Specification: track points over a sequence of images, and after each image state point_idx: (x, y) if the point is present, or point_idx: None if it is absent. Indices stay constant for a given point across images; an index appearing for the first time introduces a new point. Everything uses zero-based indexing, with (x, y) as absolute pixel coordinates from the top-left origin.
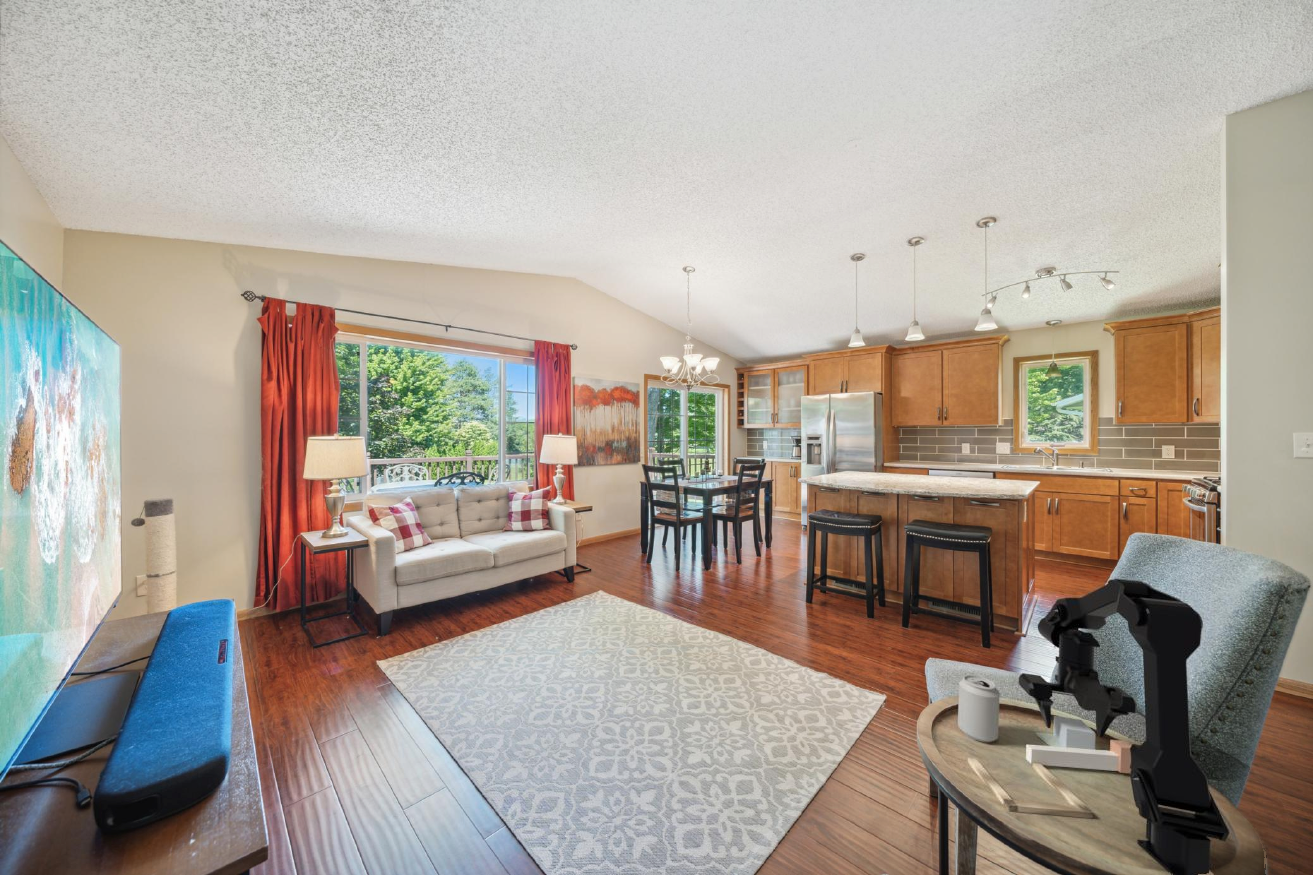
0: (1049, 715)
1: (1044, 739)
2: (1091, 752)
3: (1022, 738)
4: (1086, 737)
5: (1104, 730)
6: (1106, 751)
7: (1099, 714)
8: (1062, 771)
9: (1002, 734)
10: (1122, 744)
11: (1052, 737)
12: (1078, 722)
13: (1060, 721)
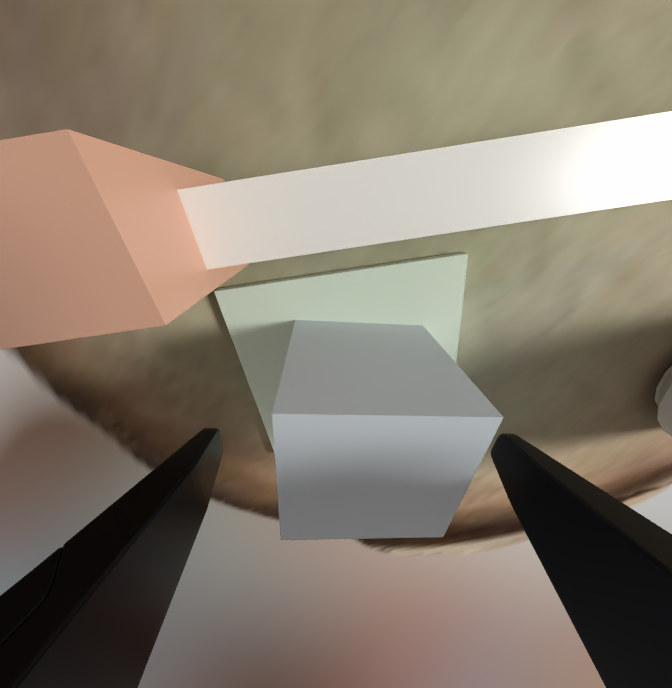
0: (632, 528)
1: None
2: (427, 177)
3: (530, 390)
4: (341, 381)
5: (164, 472)
6: (263, 245)
7: (113, 669)
8: (588, 121)
9: (598, 395)
10: (33, 240)
11: None
12: (321, 513)
13: (461, 492)
